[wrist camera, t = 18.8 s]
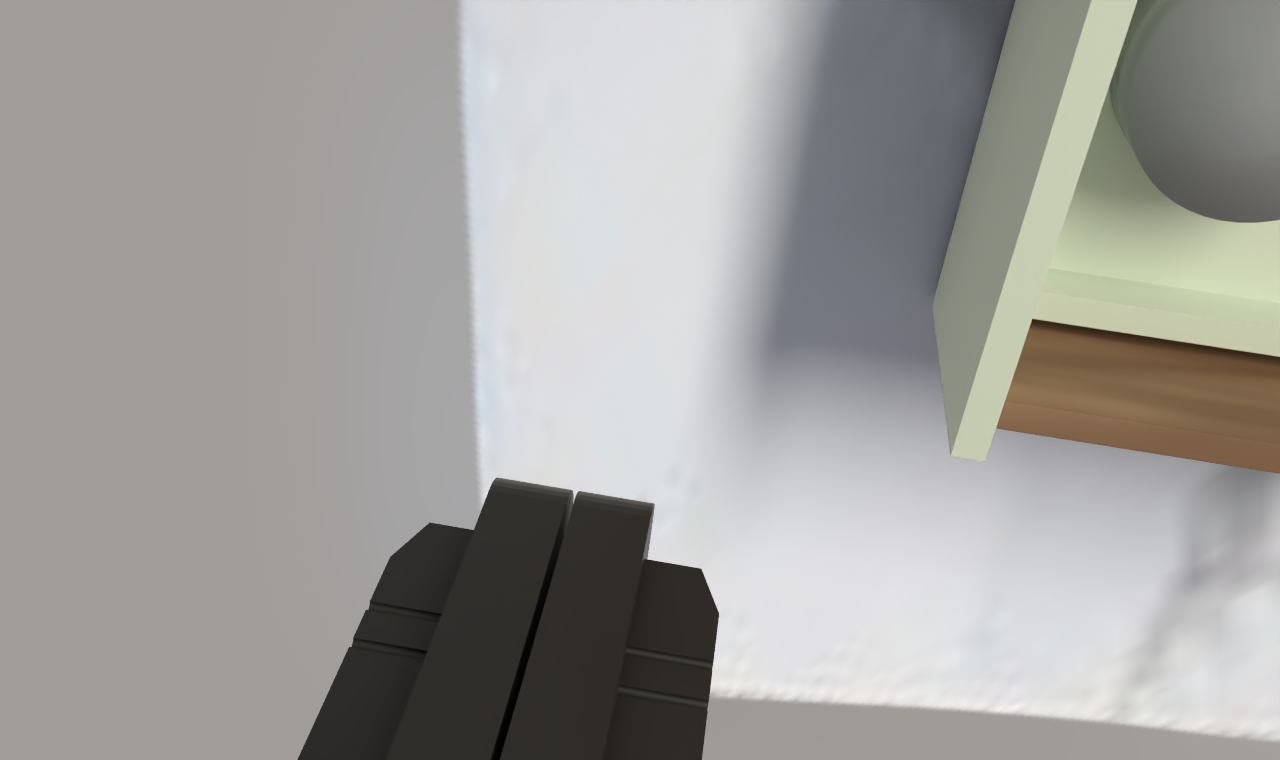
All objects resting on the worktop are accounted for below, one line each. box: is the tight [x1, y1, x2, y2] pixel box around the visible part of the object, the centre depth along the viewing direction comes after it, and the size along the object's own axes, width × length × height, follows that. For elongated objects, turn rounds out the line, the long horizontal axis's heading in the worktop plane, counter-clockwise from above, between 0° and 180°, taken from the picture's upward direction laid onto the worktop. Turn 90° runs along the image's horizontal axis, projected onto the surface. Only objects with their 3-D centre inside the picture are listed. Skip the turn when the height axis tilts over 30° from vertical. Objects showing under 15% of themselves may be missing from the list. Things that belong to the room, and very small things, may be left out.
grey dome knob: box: [1109, 0, 1280, 223], centre depth 27 cm, size 6×6×2 cm
